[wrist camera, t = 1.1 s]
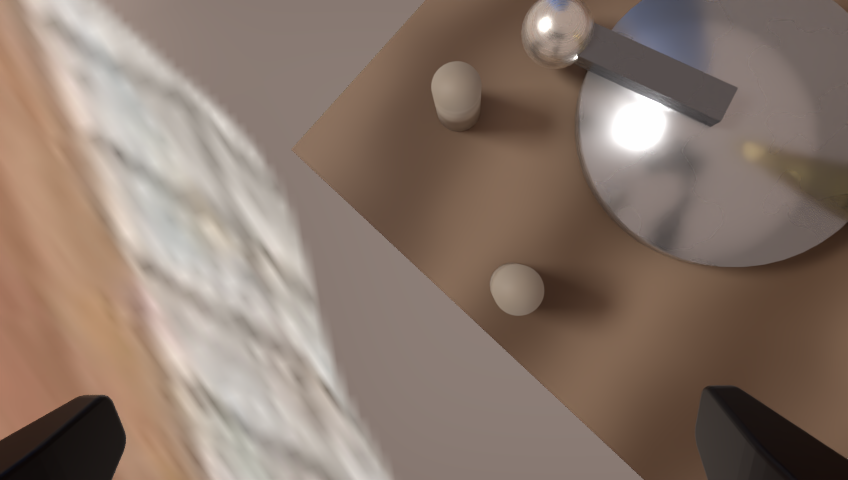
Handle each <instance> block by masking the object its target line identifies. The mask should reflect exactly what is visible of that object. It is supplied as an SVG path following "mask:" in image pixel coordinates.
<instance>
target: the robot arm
mask: <svg viewBox="0 0 848 480" xmlns="http://www.w3.org/2000/svg"><path fill="white" fill-rule="evenodd" d="M695 440H696V445H697V448H698V451H699V454H700V458H701V461H702V464H703V467H704V470H705V473H706V476H707V479H708V480H848V459H847V458H845V457H844V456H842V455H841V454H839V453H838V452H836V451H835V450H833V449H831V448H830V447H828V446H827V445H825V444H824V443H822V442H821V441H819V440H818V439H816V438H815V437H813V436H812V435H810V434H809V433H807V432H806V431H804V430H803V429H801V428H800V427H798V426H797V425H795V424H794V423H792V422H790V421H789V420H787V419H786V418H784V417H783V416H781V415H780V414H778V413H777V412H775V411H774V410H772V409H771V408H769V407H768V406H766V405H765V404H763V403H762V402H760V401H759V400H757V399H756V398H754V397H753V396H751V395H749V394H748V393H746V392H745V391H743V390H742V389H740V388H738V387H737V386H733V385H709V386H706V387H705V388H704V389H703V391H702V393H701V397H700V403H699V409H698V414H697V420H696V425H695ZM125 444H126V434H125V431H124V428H123V426H122V423H121V421H120V418H119V416H118V413H117V411H116V408H115V406H114V403H113V401H112V400H111V399H110V398H109V397H108V396H105V395H83V396H79V397H77V398H75V399H73V400H71V401H69V402H68V403H66V404H64V405H62V406H61V407H59V408H57V409H55V410H54V411H52V412H50V413H48V414H46V415H45V416H43V417H41V418H39V419H38V420H36V421H34V422H32V423H31V424H29V425H27V426H25V427H23V428H22V429H20V430H18V431H16V432H15V433H13V434H11V435H9V436H8V437H6V438H4V439H2V440H0V480H112V478H113V475H114V473H115V471H116V468H117V466H118V463H119V461H120V459H121V456H122V454H123V452H124V449H125Z"/></svg>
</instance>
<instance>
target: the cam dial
mask: <svg viewBox="0 0 848 480" xmlns="http://www.w3.org/2000/svg"><path fill="white" fill-rule="evenodd" d="M521 38H522V43H523V47H524V49H525V51H526V53H527V55H528V56H529V57H530V58H531V59H532V60H533V61H534V62H535V63H537V64H539V65H540V66H543V67H546V68H551V69H559V68H564V67H567V66H570V65H572V64H575V65H577V66H579V67H582V68H584V69H586V70H587V71H586V73H585V76H584V78H583V80H582V84H581V87H580V91H579V94H578V98H577V104H576V112H575V141H576V148H577V154H578V158H579V162H580V165H581V169H582V172H583V174H584V177H585V179H586V181H587V184H588V186H589V188H590V190H591V191H592V193H593V195H594V197H595V198H596V200H597V202H598V203H599V204H600V206H601V207H602V208H603V210H604V211H605V212H606V213H607V215H608V216H609V217H610V218H611V219H612V220H613V221H614V222H615V223H616V224H617V225H618V226H619V227H620V228H621V229H622V230H623V231H624V232H626V233H627V234H628V235H630V236H631V237H632V238H634V239H635V240H636V241H638V242H639V243H641V244H643V245H644V246H646V247H648V248H650V249H651V250H653V251H655V252H658V253H660V254H663V255H665V256H667V257H670V258H672V259H676V260H680V261H684V262H687V263H691V264H698V265H706V266H717V267H748V266H757V265H765V264H769V263H773V262H777V261H781V260H785V259H787V258H790V257H793V256H795V255H798V254H800V253H803V252H805V251H807V250H809V249H810V248H812V247H814V246H816V245H818V244H820V243H822V242H823V241H824V240H826V239H827V238H829V237H830V236H831V235H833V234H834V233H835V232H837V231H838V230H839V229H840V228H841V227H842V226H844V225H845V224H846V223H847V222H848V13H847V12H846V11H845V10H844V9H843V8H842V7H841V6H839V5H838V4H837V3H836V2H834V1H833V0H642V1H641V2H639V3H638V4H637V5H635V6H634V7H633V8H631V9H630V10H629V11H628V12H627V13H626V14H625V15H624V16H623V17H622V18H621V19H620V20H619V21H618V22H617V24H616V25H615V26H614V27H613V29H612V30H610V29H607V28H605V27H603V26H601V25H599V24H596V23H594V19H593V16H592V13H591V11H590V9H589V7H588V6H587V5H586V3H585V2H584V1H582V0H538V1H537V2H535V3H534V4H533V5H532V7H531V8H530V9H529V11H528V12H527V14H526V16H525V18H524V20H523V24H522V29H521Z"/></svg>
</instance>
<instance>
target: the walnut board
mask: <svg viewBox="0 0 848 480" xmlns="http://www.w3.org/2000/svg"><path fill="white" fill-rule="evenodd" d="M537 1H538V0H425V1H424V3H423V4H422V5H421V6H420V7H419V8H418V9H417V10H416V12H415V13H414V14H413V15H412V16H411V17H410V18H409V19H408V20H407V21H406V23H405V24H404V25H403V26H402V27H401V28H400V29H399V31H397V33H396V34H395V35H394V36H393V37H392V38H391V39H390V40H389V42H388V43H387V44H386V45H385V46H384V47H383V48H382V49H381V50H380V51H379V53H378V54H377V55H376V56H375V57H374V58H373V59H372V60H371V62H370V63H369V64H368V65H367V66H366V67H365V68H364V69H363V70H362V72H361V73H360V74H359V75H358V76H357V77H356V78H355V79H354V80H353V81H352V83H351V84H350V85H349V86H348V87H347V88H346V89H345V90H344V91H343V93H342V94H341V95H340V96H339V97H338V98H337V99H336V100H335V101H334V103H333V104H332V105H331V106H330V107H329V108H328V109H327V110H326V111H325V113H324V114H323V115H322V116H321V117H320V118H319V119H318V120H317V122H316V123H315V124H314V125H313V126H312V127H311V128H310V129H309V130H308V131H307V133H306V134H305V135H304V136H303V137H302V138H301V139H300V140H299V141H298V143H297V144H296V145H295V146H294V147H293V148H292V151H293V152H294V153H296V155H298V157H300V158H301V159H302V160H303V161H304V162H305V163H306V164H307V165H308V166H309V167H310V168H311V169H312V170H314V171H315V172H316V173H317V174H318V175H319V176H320V177H321V178H322V179H323V180H324V181H325V182H326V183H327V184H329V186H331V187H332V188H333V189H334V190H335V191H336V192H337V193H338V194H339V195H340V196H341V197H342V198H344V200H346V201H347V202H348V203H349V204H350V205H351V206H352V207H353V208H354V209H355V210H356V211H357V212H358V213H359V214H360V215H362V216H363V217H364V218H365V219H366V220H367V221H368V222H369V223H370V224H371V225H372V226H373V227H374V228H375V229H377V230H378V231H379V232H380V233H381V234H382V235H383V236H384V237H385V238H386V239H387V240H388V241H389V242H390V243H392V244H393V245H394V246H395V247H396V248H397V249H398V250H399V251H400V252H401V253H402V254H403V255H404V256H405V257H406V258H408V259H409V260H410V261H411V262H412V263H413V264H414V265H415V266H416V267H417V268H418V269H419V270H420V271H421V272H423V273H424V274H425V275H426V276H427V277H428V278H429V279H430V280H431V281H432V282H433V283H434V284H435V285H436V286H438V287H439V288H440V289H441V290H442V291H443V292H444V293H445V294H446V295H447V296H448V297H449V298H451V300H453V301H454V302H455V303H456V304H457V305H458V306H459V307H460V308H461V309H462V310H463V311H464V312H465V313H466V314H468V315H469V316H470V317H471V318H472V319H473V320H474V321H475V322H476V323H477V324H478V325H479V326H480V327H481V328H482V329H483V330H485V331H486V332H487V333H488V334H489V335H490V336H491V337H492V338H493V339H494V340H495V341H496V342H497V343H499V345H501V346H502V347H503V348H504V349H505V350H506V351H507V352H508V353H509V354H510V355H511V356H513V358H515V359H516V360H517V361H518V362H519V363H520V364H521V365H522V366H523V367H524V368H525V369H526V370H527V371H528V372H529V373H531V374H532V375H533V376H534V377H535V378H536V379H537V380H538V381H539V382H540V383H541V384H542V385H543V386H544V387H546V388H547V389H548V390H549V391H550V392H551V393H552V394H553V395H554V396H555V397H556V398H557V399H558V400H560V402H562V403H563V404H564V405H565V406H566V407H567V408H568V409H569V410H570V411H571V412H572V413H573V414H574V415H575V416H576V417H578V418H579V419H580V420H581V421H582V422H583V423H584V424H585V425H587V427H588V428H589V429H590V430H591V431H593V432H594V433H595V434H596V435H597V436H598V437H599V438H600V439H601V440H602V441H603V442H604V443H605V444H607V446H609V447H610V448H611V449H612V450H613V451H614V452H615V453H616V454H617V455H618V456H619V457H620V458H621V459H623V460H624V461H625V462H626V463H627V464H628V465H629V466H630V467H631V468H632V469H633V470H634V471H635V472H636V473H637V474H639V475H640V476H641V477H642V478H643V479H644V480H708V479H707V476H706V473H705V470H704V467H703V464H702V461H701V458H700V454H699V451H698V448H697V445H696V440H695V425H696V420H697V414H698V409H699V403H700V397H701V393H702V391H703V389H704V388H705V387H706V386H709V385H733V386H737V387H738V388H740V389H742V390H743V391H745V392H746V393H748V394H749V395H751V396H753V397H754V398H756V399H757V400H759V401H760V402H762V403H763V404H765V405H766V406H768V407H769V408H771V409H772V410H774V411H775V412H777V413H778V414H780V415H781V416H783V417H784V418H786V419H787V420H789V421H790V422H792V423H794V424H795V425H797V426H798V427H800V428H801V429H803V430H804V431H806V432H807V433H809V434H810V435H812V436H813V437H815V438H816V439H818V440H819V441H821V442H822V443H824V444H825V445H827V446H828V447H830V448H831V449H833V450H835V451H836V452H838V453H839V454H841V455H842V456H844V457H845V458H848V222H847V223H846V224H845V225H844V226H842V227H841V228H840V229H839V230H838V231H837V232H835V233H834V234H833V235H831V236H830V237H829V238H827V239H826V240H824V241H823V242H822V243H820V244H818V245H816V246H814V247H812V248H810V249H809V250H807V251H805V252H803V253H800V254H798V255H795V256H793V257H790V258H787V259H785V260H781V261H777V262H773V263H769V264H765V265H757V266H748V267H717V266H706V265H698V264H691V263H687V262H684V261H680V260H676V259H672V258H670V257H667V256H665V255H663V254H660V253H658V252H655V251H653V250H651V249H650V248H648V247H646V246H644V245H643V244H641V243H639V242H638V241H636V240H635V239H634V238H632V237H631V236H630V235H628V234H627V233H626V232H624V231H623V230H622V229H621V228H620V227H619V226H618V225H617V224H616V223H615V222H614V221H613V220H612V219H611V218H610V217H609V216H608V215H607V213H606V212H605V211H604V210H603V208H602V207H601V206H600V204H599V203H598V202H597V200H596V198H595V197H594V195H593V193H592V191H591V190H590V188H589V186H588V184H587V181H586V179H585V177H584V174H583V172H582V169H581V165H580V162H579V158H578V154H577V148H576V141H575V112H576V104H577V98H578V94H579V91H580V87H581V84H582V80H583V78H584V76H585V73H586V71H587V70H586V69H584V68H582V67H579V66H577V65H575V64H572V65H570V66H567V67H564V68H559V69H551V68H546V67H543V66H540V65H539V64H537V63H535V62H534V61H533V60H532V59H531V58H530V57H529V56H528V55H527V53H526V51H525V49H524V47H523V43H522V38H521V29H522V24H523V20H524V18H525V16H526V14H527V12H528V11H529V9H530V8H531V7H532V5H533V4H534V3H535V2H537ZM582 1H584V2H585V3H586V5H587V6H588V7H589V9H590V11H591V13H592V16H593V19H594V23H596V24H599V25H601V26H603V27H605V28H607V29H610V30H612V29H613V27H614V26H615V25H616V24H617V22H618V21H619V20H620V19H621V18H622V17H623V16H624V15H625V14H626V13H627V12H628V11H629V10H630V9H631V8H633V7H634V6H635V5H637V4H638V3H639V2H641V1H642V0H582ZM833 1H834V2H836V3H837V4H838V5H839V6H841V7H842V8H843V9H844V10H845V11H846V12H847V13H848V0H833Z"/></svg>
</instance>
